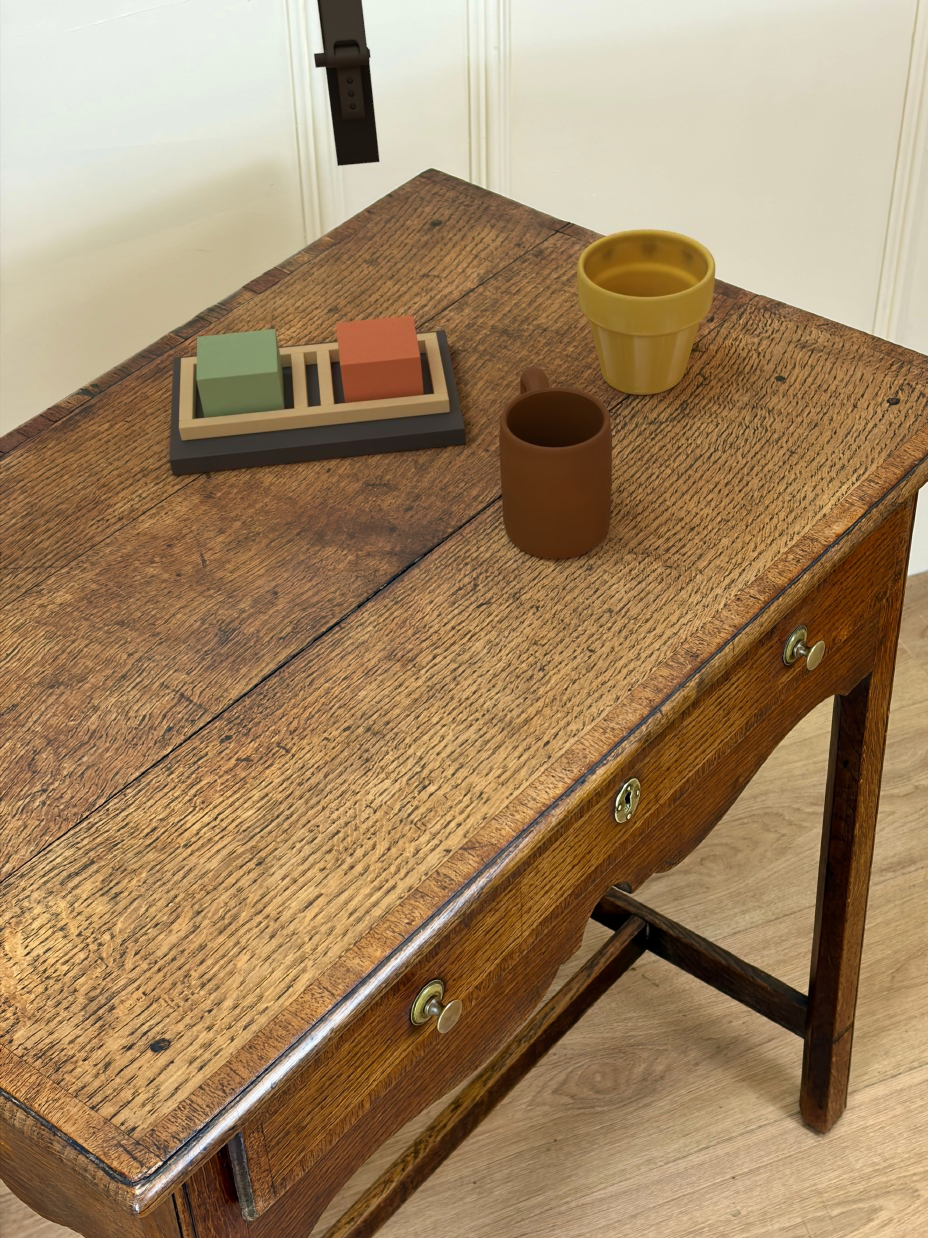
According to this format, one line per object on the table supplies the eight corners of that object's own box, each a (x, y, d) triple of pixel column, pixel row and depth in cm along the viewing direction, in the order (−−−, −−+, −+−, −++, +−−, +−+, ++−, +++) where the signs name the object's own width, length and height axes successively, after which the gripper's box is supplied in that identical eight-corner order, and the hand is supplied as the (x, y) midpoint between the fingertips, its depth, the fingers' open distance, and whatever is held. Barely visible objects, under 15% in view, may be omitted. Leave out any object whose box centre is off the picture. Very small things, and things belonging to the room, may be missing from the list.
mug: (481, 469, 110) (474, 359, 103) (581, 453, 111) (580, 343, 104) (515, 571, 101) (511, 458, 95) (623, 553, 102) (625, 441, 96)
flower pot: (645, 426, 113) (649, 313, 106) (550, 374, 118) (548, 262, 111) (734, 372, 118) (744, 260, 111) (640, 324, 123) (643, 214, 116)
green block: (206, 424, 112) (196, 379, 109) (206, 381, 116) (197, 336, 113) (285, 416, 113) (277, 371, 110) (283, 373, 117) (275, 328, 114)
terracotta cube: (346, 410, 113) (340, 365, 110) (341, 367, 117) (335, 322, 114) (424, 402, 113) (420, 356, 111) (417, 359, 118) (413, 314, 115)
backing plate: (173, 476, 110) (165, 446, 108) (176, 373, 120) (170, 344, 118) (466, 444, 112) (464, 414, 110) (446, 345, 122) (444, 316, 120)
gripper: (393, -191, 77) (424, 196, 92) (361, -302, 94) (392, 39, 109) (247, -180, 76) (303, 208, 91) (242, -294, 93) (290, 48, 108)
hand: (351, 117), depth 100 cm, fingers open, 13 cm apart
